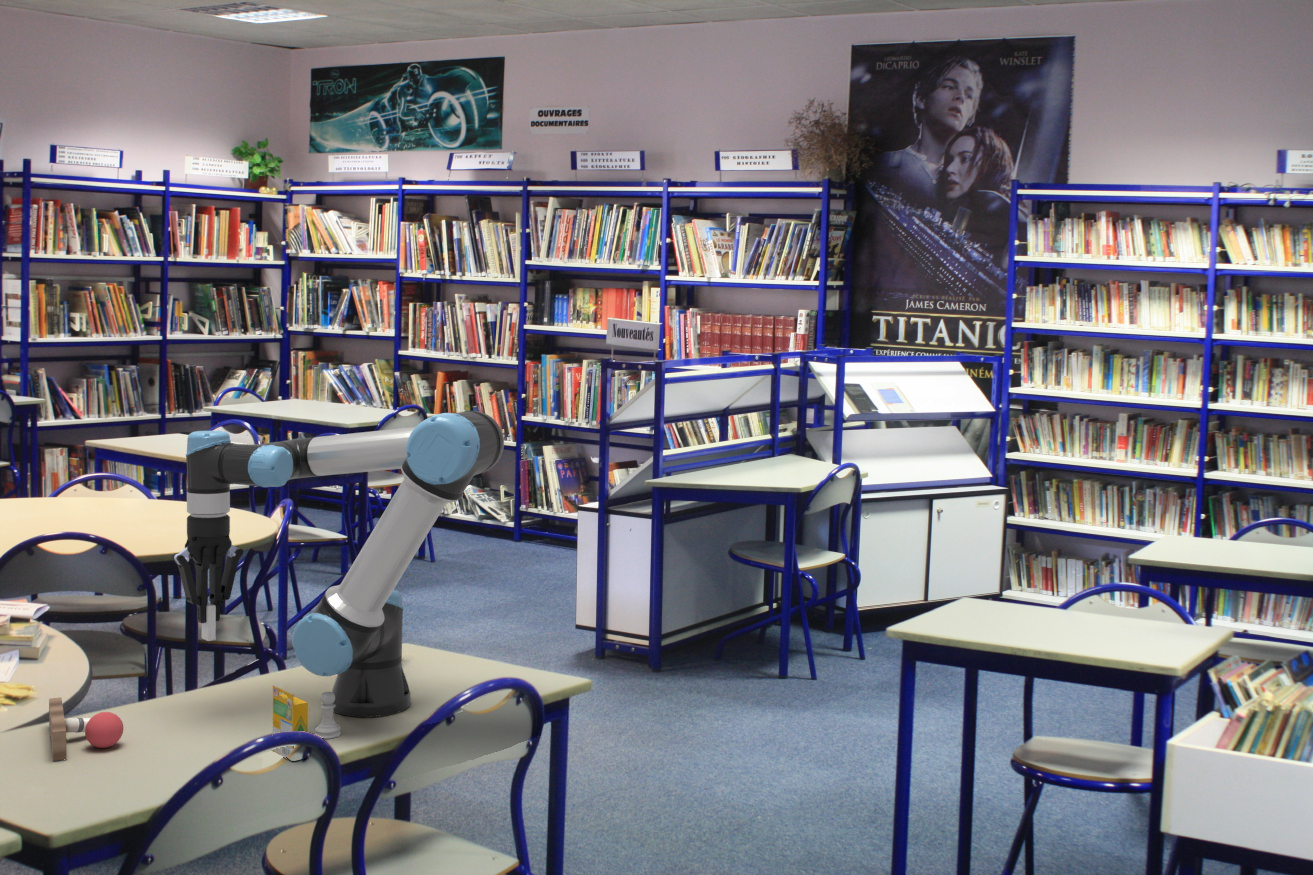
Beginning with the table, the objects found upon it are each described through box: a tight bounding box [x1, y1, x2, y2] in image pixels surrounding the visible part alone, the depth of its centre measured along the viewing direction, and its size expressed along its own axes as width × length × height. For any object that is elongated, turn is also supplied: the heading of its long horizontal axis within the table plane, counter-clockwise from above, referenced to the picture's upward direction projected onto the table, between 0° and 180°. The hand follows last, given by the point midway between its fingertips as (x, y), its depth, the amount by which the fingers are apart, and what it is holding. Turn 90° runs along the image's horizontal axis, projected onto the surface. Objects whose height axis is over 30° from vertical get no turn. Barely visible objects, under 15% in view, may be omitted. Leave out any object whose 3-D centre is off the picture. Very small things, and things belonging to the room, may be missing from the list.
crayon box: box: [271, 685, 309, 759], centre depth 208 cm, size 7×3×12 cm, turn 44°
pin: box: [65, 717, 92, 734], centre depth 214 cm, size 2×2×9 cm
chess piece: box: [314, 691, 342, 740], centre depth 218 cm, size 5×5×8 cm
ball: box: [84, 711, 124, 749], centre depth 209 cm, size 6×6×6 cm
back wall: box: [48, 697, 67, 762], centre depth 211 cm, size 20×2×5 cm, turn 28°
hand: (208, 638), depth 229 cm, fingers closed
